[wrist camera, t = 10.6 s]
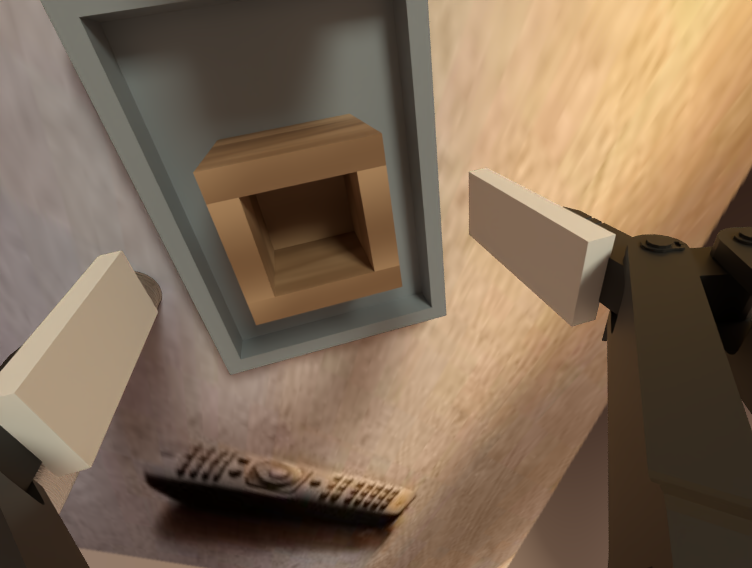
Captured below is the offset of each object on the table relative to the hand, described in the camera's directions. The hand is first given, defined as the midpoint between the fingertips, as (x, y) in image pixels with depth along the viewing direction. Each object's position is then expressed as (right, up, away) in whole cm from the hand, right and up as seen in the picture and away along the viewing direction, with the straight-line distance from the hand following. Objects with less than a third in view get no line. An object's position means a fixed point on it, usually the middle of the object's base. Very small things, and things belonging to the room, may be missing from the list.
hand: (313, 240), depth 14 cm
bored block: (-2, +4, +7) cm, 8 cm away
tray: (-2, +4, +8) cm, 9 cm away
